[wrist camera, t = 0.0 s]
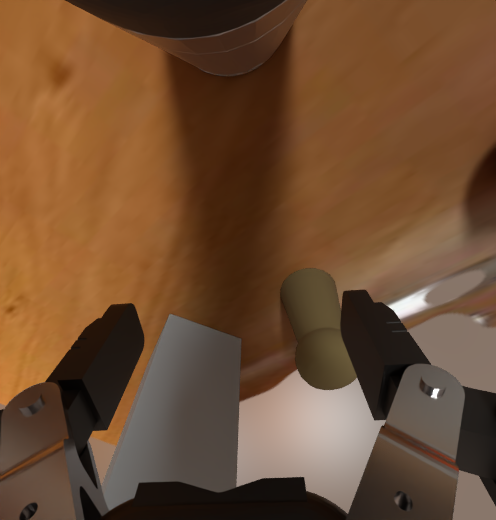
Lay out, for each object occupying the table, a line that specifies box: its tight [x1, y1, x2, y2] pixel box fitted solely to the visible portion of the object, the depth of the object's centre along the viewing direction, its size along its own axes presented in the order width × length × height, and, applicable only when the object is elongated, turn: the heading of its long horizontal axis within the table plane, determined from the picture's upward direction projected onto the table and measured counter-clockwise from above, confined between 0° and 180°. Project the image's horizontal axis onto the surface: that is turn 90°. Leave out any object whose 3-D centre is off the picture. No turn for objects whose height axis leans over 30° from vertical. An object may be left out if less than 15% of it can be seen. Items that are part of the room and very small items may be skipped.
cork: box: [280, 268, 357, 390], centre depth 27 cm, size 6×6×11 cm
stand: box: [101, 314, 241, 511], centre depth 22 cm, size 9×9×32 cm
